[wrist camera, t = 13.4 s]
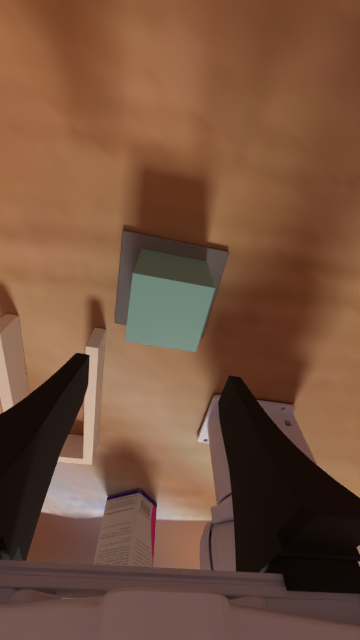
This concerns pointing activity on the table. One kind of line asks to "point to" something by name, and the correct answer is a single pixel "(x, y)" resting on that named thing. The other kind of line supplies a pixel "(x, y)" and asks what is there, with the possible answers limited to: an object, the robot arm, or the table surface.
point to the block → (168, 301)
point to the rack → (11, 386)
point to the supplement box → (127, 530)
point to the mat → (138, 241)
